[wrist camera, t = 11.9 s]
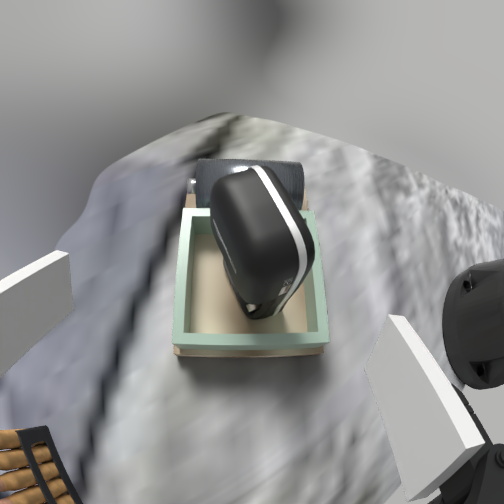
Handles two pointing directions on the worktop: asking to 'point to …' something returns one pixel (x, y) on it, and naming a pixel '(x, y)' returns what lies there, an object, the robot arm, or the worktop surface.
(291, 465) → the worktop surface
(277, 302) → the battery charger
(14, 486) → the ammunition clip
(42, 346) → the worktop surface
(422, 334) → the worktop surface
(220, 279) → the mint green tray
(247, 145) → the worktop surface
